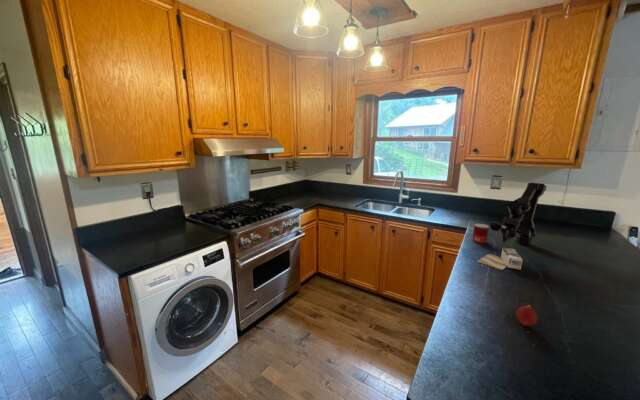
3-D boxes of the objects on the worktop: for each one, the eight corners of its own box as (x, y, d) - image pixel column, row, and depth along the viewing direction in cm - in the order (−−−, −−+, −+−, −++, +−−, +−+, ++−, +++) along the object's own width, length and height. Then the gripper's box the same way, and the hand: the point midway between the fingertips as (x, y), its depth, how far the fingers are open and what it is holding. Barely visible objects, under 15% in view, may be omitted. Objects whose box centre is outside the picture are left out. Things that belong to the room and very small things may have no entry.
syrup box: (514, 248, 143) (523, 259, 130) (512, 258, 144) (521, 270, 131) (502, 247, 145) (509, 257, 132) (500, 257, 146) (507, 267, 133)
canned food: (488, 244, 165) (491, 227, 163) (474, 243, 167) (477, 226, 164) (483, 239, 172) (486, 224, 170) (470, 238, 174) (472, 223, 171)
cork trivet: (488, 254, 150) (489, 253, 150) (513, 262, 140) (513, 261, 140) (476, 261, 140) (476, 261, 140) (501, 270, 131) (501, 269, 131)
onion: (510, 319, 95) (514, 300, 93) (525, 319, 95) (529, 299, 93) (523, 331, 89) (528, 310, 87) (539, 330, 90) (544, 310, 88)
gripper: (493, 207, 150) (482, 229, 146) (533, 215, 135) (522, 239, 131) (496, 218, 156) (486, 239, 152) (535, 226, 142) (524, 250, 138)
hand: (503, 242), depth 143 cm, fingers closed
